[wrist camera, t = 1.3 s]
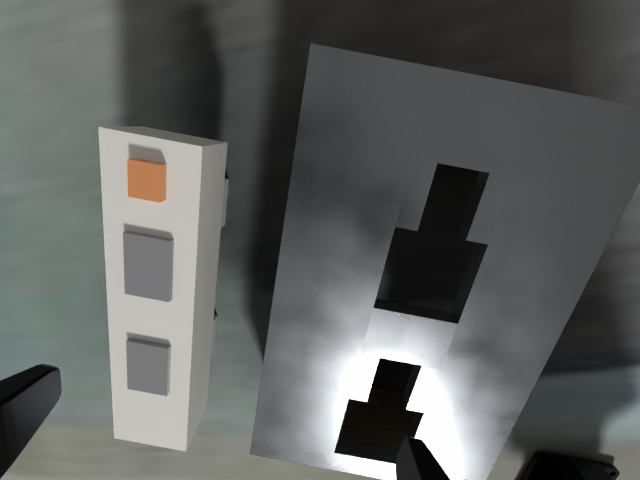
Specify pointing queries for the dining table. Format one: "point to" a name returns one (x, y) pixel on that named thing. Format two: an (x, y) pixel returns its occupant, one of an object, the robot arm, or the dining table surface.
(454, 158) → the keyhole board
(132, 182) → the power strip
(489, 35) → the dining table surface
